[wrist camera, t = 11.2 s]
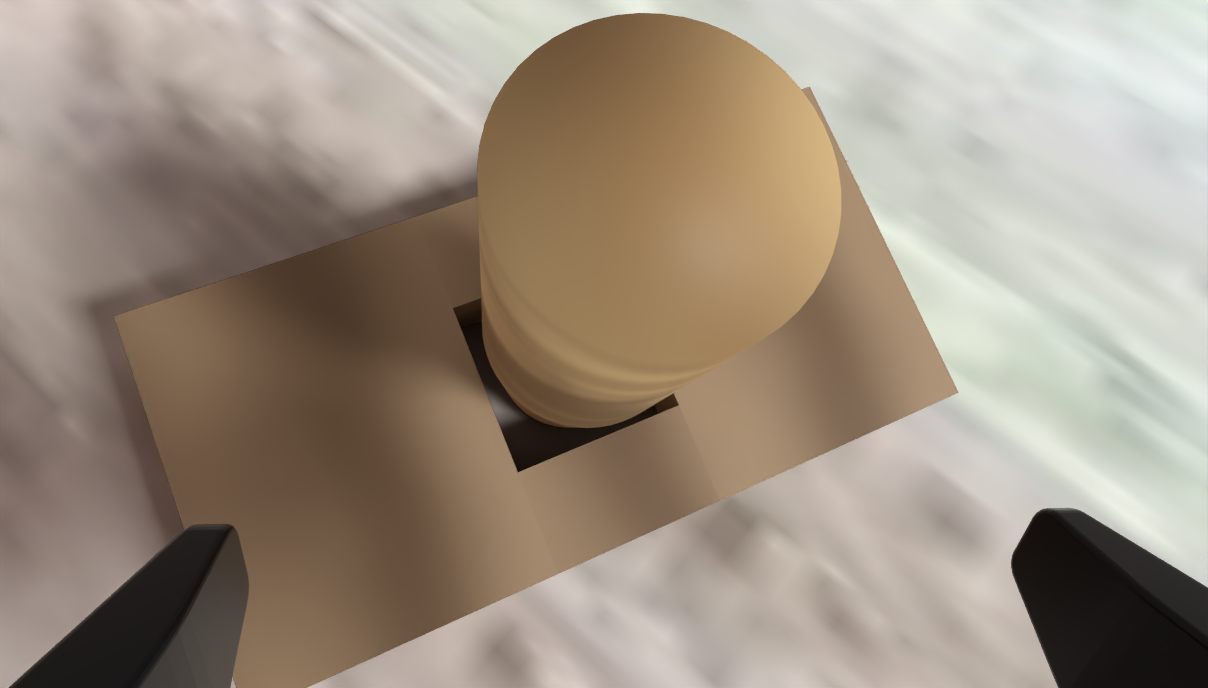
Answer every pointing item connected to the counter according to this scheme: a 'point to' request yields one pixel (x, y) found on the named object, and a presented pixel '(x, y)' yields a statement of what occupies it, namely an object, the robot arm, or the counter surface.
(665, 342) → the oak peg
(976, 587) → the counter surface
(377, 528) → the wooden flat block
